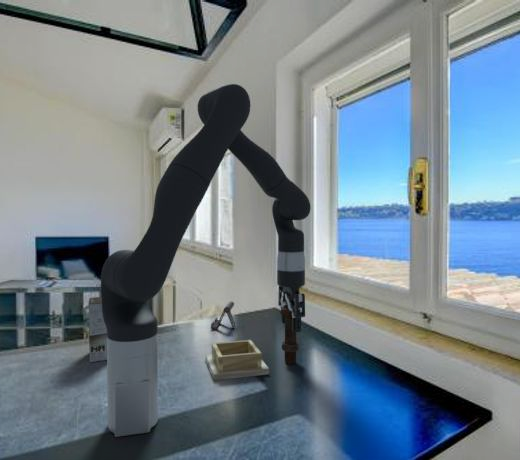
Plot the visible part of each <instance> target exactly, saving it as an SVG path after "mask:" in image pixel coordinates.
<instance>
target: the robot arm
mask: <svg viewBox="0 0 520 460" xmlns="http://www.w3.org/2000/svg"><path fill="white" fill-rule="evenodd" d="M250 112H251V99H250V95H249V93H248V91H247V90H246V89H245V88H244V87H243V85H239V84H237V83H228V84H224V85H221V86H219V87H216V88H215V89H211V90H210V91H208V92H206V93H204V94H203V95H201V97H200V98H199V99H198V102H197V114H198V117H199V118H200V119H199V120H200V121H201V123H202V124H203V126H202V127H201V129H200V130H199V131H198V132H197V134H195V135H194V136H193V138H192V139H190V140H189V141H188V143H187V144H186V145H184V146H183V147H182V149H181V150H180V151H179V152H178V153H177V154H176V155H175V157H174V158H173V159H172V160H171V162H169V165H168V166H167V168H166V170H165V172H164V173H163V175H162V177H161V178H160V180H159V183H158V185H157V188H156V191H155V195H154V200H153V201H154V204H153V213H152V217H151V221H150V224H149V225H148V228H147V230H146V232H145V233H144V236H143V237H142V239H141V240H140V241H139V244H138V245H137V247H136V248H135V249H134V250H132V249H122V250H121V249H120V250H116V251H115V252H113V253H111V255H110V256H108V257H107V258H106V260H105V262H104V263H103V265H102V269H101V273H100V292H101V293H100V294H101V296H100V297H102V314H103V320H104V323H105V325H106V328H107V360H106V365H107V366H106V367H107V368H106V372H107V373H106V374H107V376H106V377H107V379H106V380H107V381H106V383H107V428H108V431H109V432H111V433H113V434H114V438H118V437H124V436H131V435H138V434H146V433H150V432H151V429H152V428H153V427H154V426H156V424H157V423H158V422H159V376H158V375H159V373H158V371H159V367H158V366H159V365H158V364H159V363H158V362H159V361H158V360H159V359H158V357H159V354H158V353H159V351H158V347H159V345H158V344H159V340H158V335H159V333H158V332H159V331H158V328H159V326H158V320H157V317H156V316H155V314H154V313H153V312H152V310H151V309H150V306H149V304H148V302H149V301H150V300H151V299H153V298H154V297H156V296H157V295H158V293H159V292H160V291H161V289H162V287H163V286H164V284H165V282H166V279H167V277H168V275H169V272H170V270H171V267H172V265H173V262H174V259H175V257H176V254H177V251H178V248H179V246H180V243H181V242H182V240H183V237H184V236H185V233H186V232H187V229H188V228H189V226H190V223H191V221H192V220H193V217H194V216H195V213H196V211H197V210H198V208H199V207H200V204H201V203H202V201H203V199H204V198H205V195H206V193H207V191H208V189H209V187H210V185H211V183H212V180H213V178H214V176H215V175H216V173H217V171H218V169H219V167H220V165H221V163H222V162H223V160H224V157H225V155H226V153H227V151H229V152H230V153H232V155H233V156H234V157H235V158H236V159H237V160H238V161H239V162H240V163H241V164H242V165H243V167H244V168H246V170H247V171H248V172H249V173H250V175H251V176H252V177H253V179H254V180H255V182H256V183H257V184H258V186H259V187H260V188H261V190H262V192H263V193H264V194H265V195H267V197H269V198H273V199H274V200H273V202H272V203H273V204H272V205H271V206H272V208H271V211H272V217H273V222H274V225H275V230H276V233H277V259H276V260H277V261H276V262H277V263H276V273H277V274H276V284H277V286H278V302H277V303H278V307H279V308H280V309H281V308H282V307H284V306H288V308H289V310H290V311H291V313H292V317H293V318H292V331H293V332H296V333H301V331H302V318H305V317H306V295H305V293H300V288H301V287H304V286H305V285H306V257H305V256H306V255H305V234H304V232H303V230H301V229H300V228H299V229H298V228H297V227H295V224H294V221H302V220H305V219H306V218H308V217H309V215H310V213H311V210H312V209H311V203H310V199H309V197H308V196H307V195H306V193H305V192H304V191H303V190H302V189H301V188H300V187H299V186H297V185H296V184H295V183H294V182H293V181H292V180H291V179H290V178H288V177H287V175H286V174H285V172H284V171H283V169H282V168H281V166H280V165H279V163H278V161H276V159H275V158H274V157H273V156H272V155H271V154H270V153H269V152H268V151H266V150H265V149H264V148H262V147H261V146H259V144H257V143H256V142H254V141H253V140H252V139H250V138H249V137H248V136H247V135H246V134H245V133H244V132H243V131H242V128H243V127H244V125H245V124H246V122H247V120H248V118H249V116H250V114H251V113H250ZM294 310H295V311H294ZM281 323H282V324H285V319H284V315H282V314H281Z"/></svg>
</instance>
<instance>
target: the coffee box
mask: <svg viewBox="0 0 520 460" xmlns="http://www.w3.org/2000/svg"><path fill="white" fill-rule="evenodd" d="M88 344H89V345H88V347H89V348H88V350H89V363H95V362H100V361H107V328H106V325H105V323H104V320H103V314H102V297H101V296H97V297H96V296H95V297H89V300H88Z"/></svg>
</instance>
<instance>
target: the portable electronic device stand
mask: <svg viewBox="0 0 520 460" xmlns="http://www.w3.org/2000/svg"><path fill="white" fill-rule="evenodd" d="M234 307H235V302H234V301H229V302H228V303H227V304H226V306H225V307H224V308H223V311H222V313H221V315H220V318H218V317H215V319H214V321H213V322H211V325H210V329H211V330H212V331H216V330H217V329H218V327H219V326H220V324H221V323H222V321H223V318H224V317H225V314H226V315H227V317H228V320H229V322H230V324H231V327H232V329H233V328H234V327H235V324H236V325H237V323H236V321H235V319H234V316H233V314H232V312H231V310H232V309H233V308H234Z"/></svg>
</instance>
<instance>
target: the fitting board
mask: <svg viewBox="0 0 520 460" xmlns="http://www.w3.org/2000/svg"><path fill="white" fill-rule="evenodd" d="M262 356H263V355H262V351H261V350H260V349H259V348H258V347H257V346H256V345H255V343H254V342H253V341H252V340H251V339H246V340H235V341H234V340H233V341H231V340H230V341H223V342H221V341H220V342H211V353H207V354H206V353H205V361H206V364H207V366H208V369H209V371H210V372H209V373H210V375H211V377H212V381H221V380H230V379H237V378H238V379H239V378H247V377H256V376H265V375H270V368H269V366H268V365H267V364H266V363H265V361H264V360H263V358H262Z"/></svg>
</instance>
